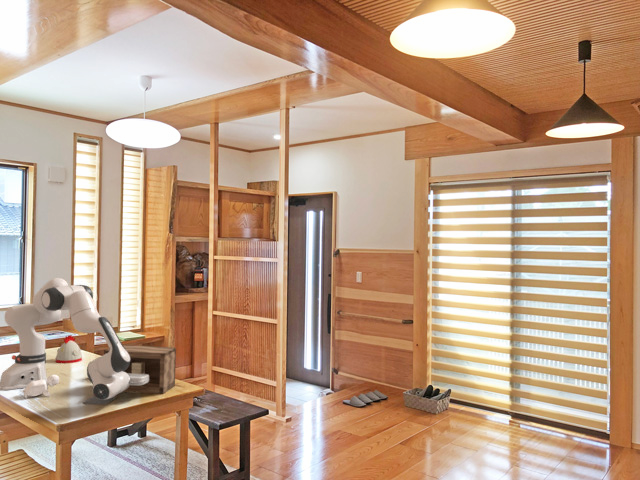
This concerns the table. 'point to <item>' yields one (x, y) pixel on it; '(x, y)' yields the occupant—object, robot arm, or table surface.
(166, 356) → the brown wooden box
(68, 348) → the kitchen timer
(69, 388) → the table surface
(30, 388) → the white animal figurine
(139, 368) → the beech block
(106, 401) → the slate mat
